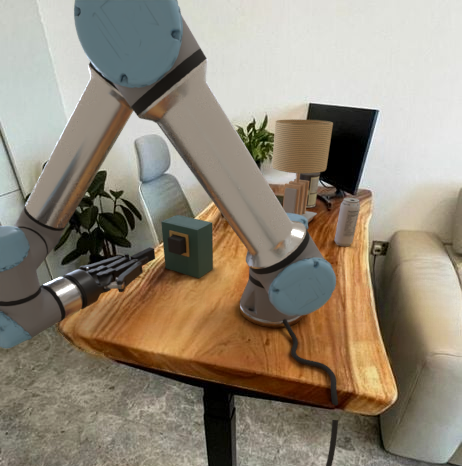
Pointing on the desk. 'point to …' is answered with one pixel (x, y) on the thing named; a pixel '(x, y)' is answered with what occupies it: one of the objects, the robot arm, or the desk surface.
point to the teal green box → (189, 245)
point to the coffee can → (311, 187)
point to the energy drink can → (347, 221)
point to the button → (177, 244)
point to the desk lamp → (300, 158)
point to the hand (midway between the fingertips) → (152, 253)
